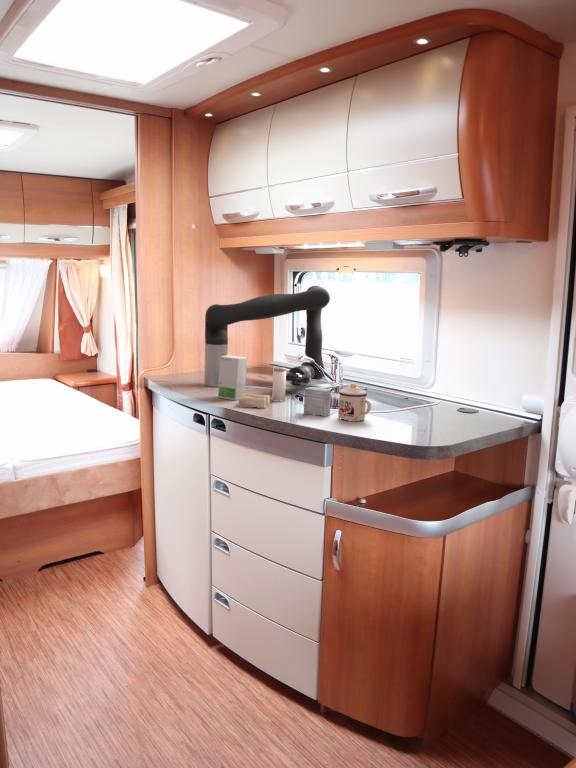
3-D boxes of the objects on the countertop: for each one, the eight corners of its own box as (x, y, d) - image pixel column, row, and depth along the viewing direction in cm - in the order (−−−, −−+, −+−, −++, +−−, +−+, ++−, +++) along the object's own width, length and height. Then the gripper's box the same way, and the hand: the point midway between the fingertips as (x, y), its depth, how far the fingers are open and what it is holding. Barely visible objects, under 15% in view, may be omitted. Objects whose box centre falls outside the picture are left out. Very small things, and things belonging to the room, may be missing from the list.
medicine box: (330, 415, 205) (331, 389, 204) (324, 417, 201) (325, 391, 200) (309, 411, 209) (310, 386, 207) (303, 413, 205) (304, 388, 204)
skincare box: (217, 398, 226) (218, 356, 224) (227, 395, 232) (228, 354, 230) (236, 400, 222) (238, 358, 220) (246, 398, 228) (247, 356, 226)
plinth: (245, 402, 221) (245, 393, 220) (269, 403, 219) (270, 395, 219) (238, 406, 212) (239, 397, 212) (264, 408, 211) (264, 399, 210)
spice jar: (273, 398, 230) (274, 366, 228) (285, 399, 229) (287, 367, 227) (270, 400, 225) (272, 368, 224) (283, 401, 225) (285, 369, 223)
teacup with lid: (331, 418, 200) (333, 382, 198) (349, 414, 206) (351, 380, 204) (360, 425, 191) (362, 388, 190) (378, 421, 198) (380, 385, 196)
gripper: (283, 364, 250) (268, 369, 234) (317, 367, 245) (304, 372, 230) (282, 382, 251) (268, 388, 236) (316, 386, 246) (303, 392, 231)
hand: (285, 380), depth 233 cm, fingers open, 8 cm apart
